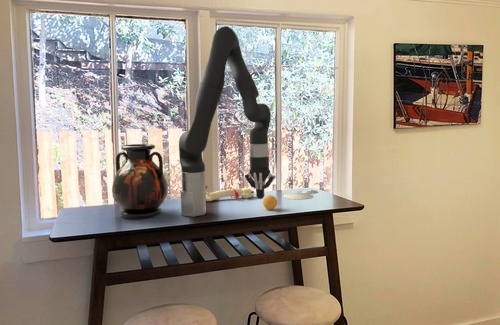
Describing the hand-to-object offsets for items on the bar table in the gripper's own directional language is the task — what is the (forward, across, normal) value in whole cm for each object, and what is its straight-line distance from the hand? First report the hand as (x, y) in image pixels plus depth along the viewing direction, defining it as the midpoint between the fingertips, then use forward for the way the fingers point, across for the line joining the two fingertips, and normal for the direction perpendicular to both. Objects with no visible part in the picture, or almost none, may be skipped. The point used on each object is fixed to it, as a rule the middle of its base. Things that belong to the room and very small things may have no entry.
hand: (260, 198), depth 170 cm
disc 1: (+7, +2, +38) cm, 39 cm away
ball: (+3, 0, +8) cm, 9 cm away
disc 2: (+7, +2, +50) cm, 51 cm away
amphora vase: (+6, -43, -21) cm, 48 cm away
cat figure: (+7, -26, +19) cm, 33 cm away
